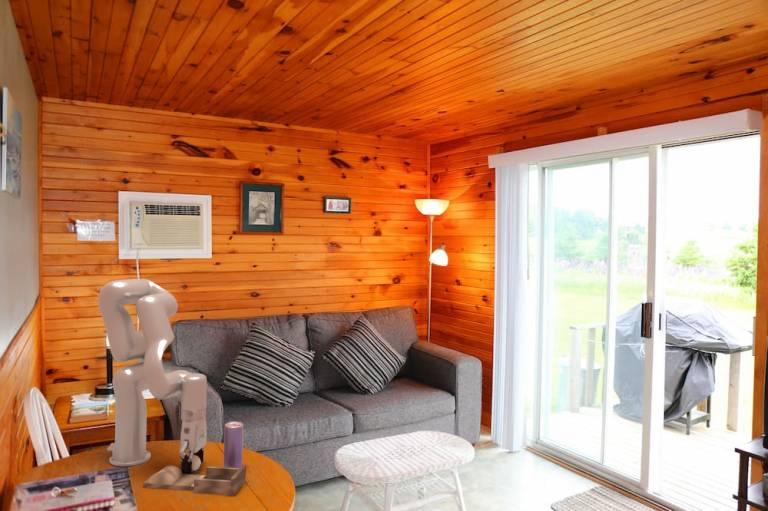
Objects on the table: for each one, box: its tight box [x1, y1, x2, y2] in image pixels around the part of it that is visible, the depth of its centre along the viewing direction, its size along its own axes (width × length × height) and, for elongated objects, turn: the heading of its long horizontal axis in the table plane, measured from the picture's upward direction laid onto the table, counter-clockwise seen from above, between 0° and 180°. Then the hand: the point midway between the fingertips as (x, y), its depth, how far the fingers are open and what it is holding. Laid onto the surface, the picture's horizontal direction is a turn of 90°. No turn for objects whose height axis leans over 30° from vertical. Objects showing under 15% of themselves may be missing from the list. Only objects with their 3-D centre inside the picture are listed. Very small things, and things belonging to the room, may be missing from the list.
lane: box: [142, 465, 247, 497], centre depth 172 cm, size 28×10×9 cm, turn 85°
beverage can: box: [222, 421, 244, 468], centre depth 183 cm, size 6×6×15 cm
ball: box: [191, 454, 202, 472], centre depth 181 cm, size 5×5×5 cm
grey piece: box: [190, 467, 202, 475], centre depth 182 cm, size 5×5×1 cm
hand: (192, 467), depth 182 cm, fingers open, 8 cm apart
